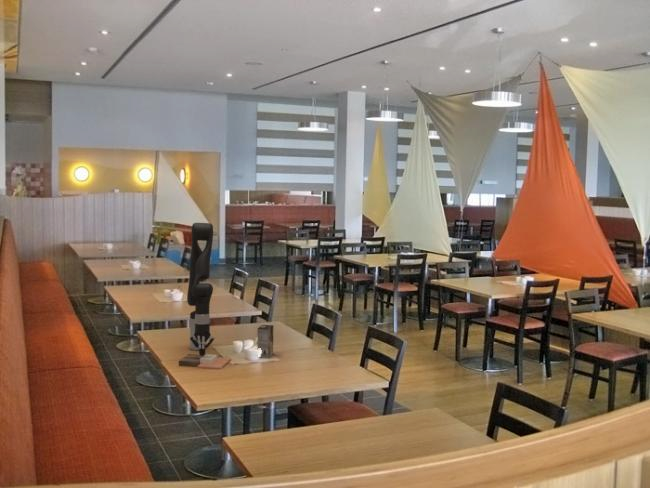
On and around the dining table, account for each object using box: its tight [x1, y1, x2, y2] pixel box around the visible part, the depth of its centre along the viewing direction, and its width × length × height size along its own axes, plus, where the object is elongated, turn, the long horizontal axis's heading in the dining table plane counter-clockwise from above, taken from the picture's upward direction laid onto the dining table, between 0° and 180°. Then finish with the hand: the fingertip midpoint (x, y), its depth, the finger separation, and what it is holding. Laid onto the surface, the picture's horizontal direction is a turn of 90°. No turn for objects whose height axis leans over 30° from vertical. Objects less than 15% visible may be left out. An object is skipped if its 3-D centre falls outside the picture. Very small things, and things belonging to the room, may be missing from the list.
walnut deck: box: [178, 353, 203, 368], centre depth 351 cm, size 14×10×2 cm
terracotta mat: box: [197, 356, 232, 370], centre depth 350 cm, size 18×12×1 cm, turn 172°
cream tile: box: [200, 353, 218, 364], centre depth 350 cm, size 9×6×2 cm, turn 171°
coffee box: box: [257, 324, 274, 359], centre depth 366 cm, size 9×6×16 cm
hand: (202, 355), depth 350 cm, fingers closed
